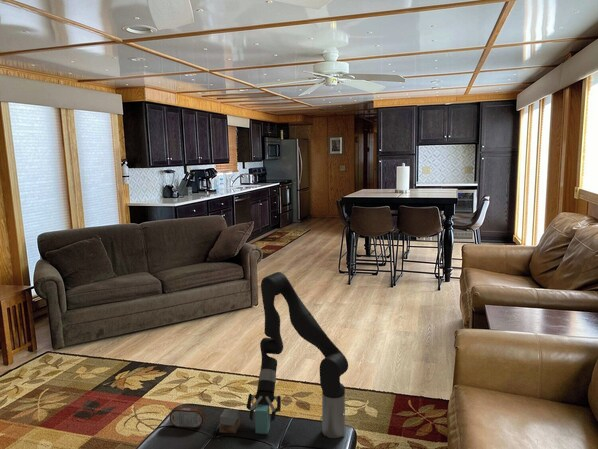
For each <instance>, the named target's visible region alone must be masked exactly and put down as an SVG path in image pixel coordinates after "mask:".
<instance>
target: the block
mask: <svg viewBox="0 0 598 449" xmlns="http://www.w3.org/2000/svg"><path fill="white" fill-rule="evenodd" d="M270 416H271V415H270V405H261V404H258V405H257V407H256V409H255V410H254V425H255V426H254V427H255V429H254V430H255V434H259V435H260V434H262V435H268V433H269V430H270V426H271V417H270Z"/></svg>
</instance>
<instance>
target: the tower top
mask: <svg viewBox="0 0 598 449" xmlns="http://www.w3.org/2000/svg"><path fill="white" fill-rule="evenodd" d="M239 417H240V415H239V410H238V409H231V408H229V409H228V408H224V410H223V411H222V413H221V414H220V415H219V424H221V425H230V426H234V425H235V423H236V422H237V420H238V418H239Z"/></svg>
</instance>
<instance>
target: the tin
mask: <svg viewBox="0 0 598 449" xmlns="http://www.w3.org/2000/svg"><path fill="white" fill-rule="evenodd" d="M205 420H206V414H205V412H204V411H203V409H201V408H199V407H196V406H195V407H193V406H179V405H178V406H175V407H173V408H172V410H171V412H170V414H169V421H170V423H171V424H172V425H173V426H174V427H177V428H190V429H196V428H197V429H198V428H201V426H202V425H203V424H204V422H205Z"/></svg>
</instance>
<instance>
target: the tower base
mask: <svg viewBox="0 0 598 449" xmlns="http://www.w3.org/2000/svg"><path fill="white" fill-rule="evenodd" d="M240 425H241V416H239V418H238V420H237V422H236V423H235V425H234V426H230V425H221V424H220V423H219V425H218V427H219V428H218V429H219V430H218V431H219V433H227V434H237V431H238V430H239V427H240Z"/></svg>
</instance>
